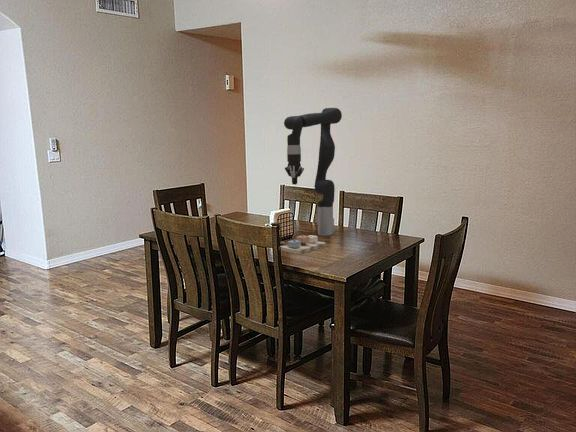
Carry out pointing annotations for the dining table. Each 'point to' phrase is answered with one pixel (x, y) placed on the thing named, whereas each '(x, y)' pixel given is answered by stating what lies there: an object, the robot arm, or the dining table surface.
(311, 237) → the light grey square block
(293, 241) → the grey block
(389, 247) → the dining table surface
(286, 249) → the board
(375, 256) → the dining table surface
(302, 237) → the tile
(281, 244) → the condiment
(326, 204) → the robot arm
